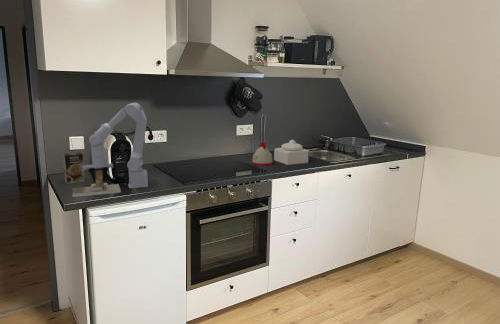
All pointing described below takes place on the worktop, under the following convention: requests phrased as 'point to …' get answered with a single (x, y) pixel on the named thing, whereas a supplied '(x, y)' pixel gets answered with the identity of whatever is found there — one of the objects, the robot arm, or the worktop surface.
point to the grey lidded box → (291, 154)
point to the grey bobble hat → (262, 156)
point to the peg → (99, 177)
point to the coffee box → (73, 167)
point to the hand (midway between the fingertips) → (99, 181)
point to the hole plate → (96, 190)
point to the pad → (95, 184)
